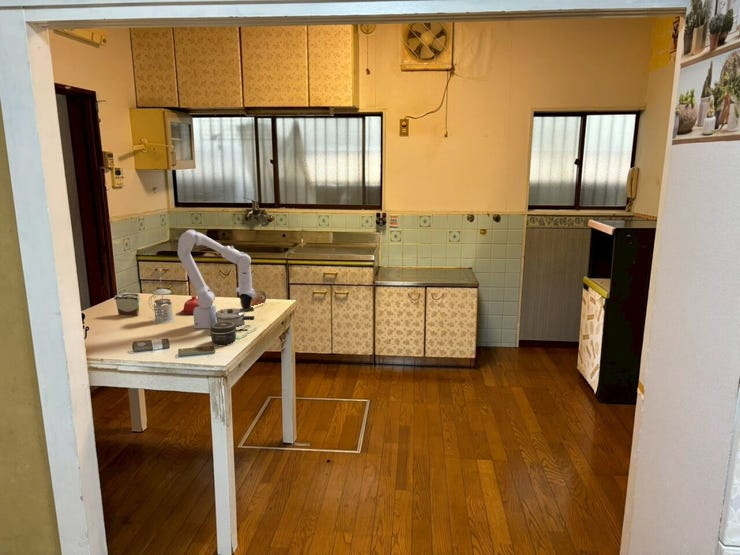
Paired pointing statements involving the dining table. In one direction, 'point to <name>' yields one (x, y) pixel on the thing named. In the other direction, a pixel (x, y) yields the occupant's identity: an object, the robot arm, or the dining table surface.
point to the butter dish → (190, 305)
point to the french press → (162, 307)
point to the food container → (127, 304)
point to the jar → (223, 333)
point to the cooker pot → (237, 320)
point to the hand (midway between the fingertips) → (246, 309)
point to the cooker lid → (232, 312)
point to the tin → (257, 298)
